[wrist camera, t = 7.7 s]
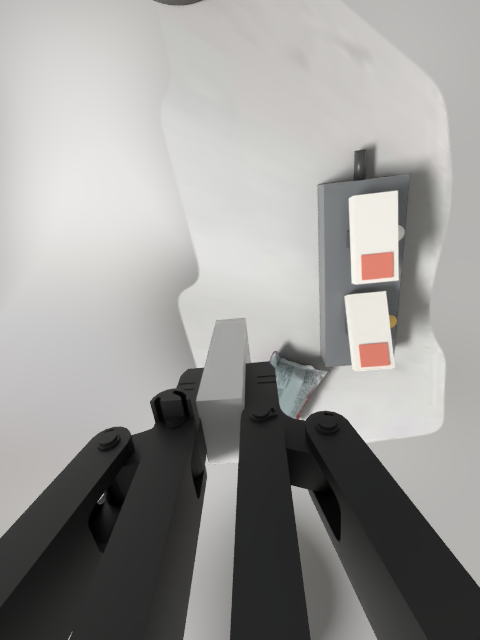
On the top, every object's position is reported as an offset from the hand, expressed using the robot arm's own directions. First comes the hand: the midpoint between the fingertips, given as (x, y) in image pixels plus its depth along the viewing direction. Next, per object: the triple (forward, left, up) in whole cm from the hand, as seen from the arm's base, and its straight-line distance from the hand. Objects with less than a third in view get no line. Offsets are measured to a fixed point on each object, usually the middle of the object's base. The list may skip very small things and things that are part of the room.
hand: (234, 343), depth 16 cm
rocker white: (0, +14, -21) cm, 25 cm away
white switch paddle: (+11, +14, -21) cm, 27 cm away
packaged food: (+21, +4, -27) cm, 34 cm away
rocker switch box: (+3, +14, -26) cm, 30 cm away
